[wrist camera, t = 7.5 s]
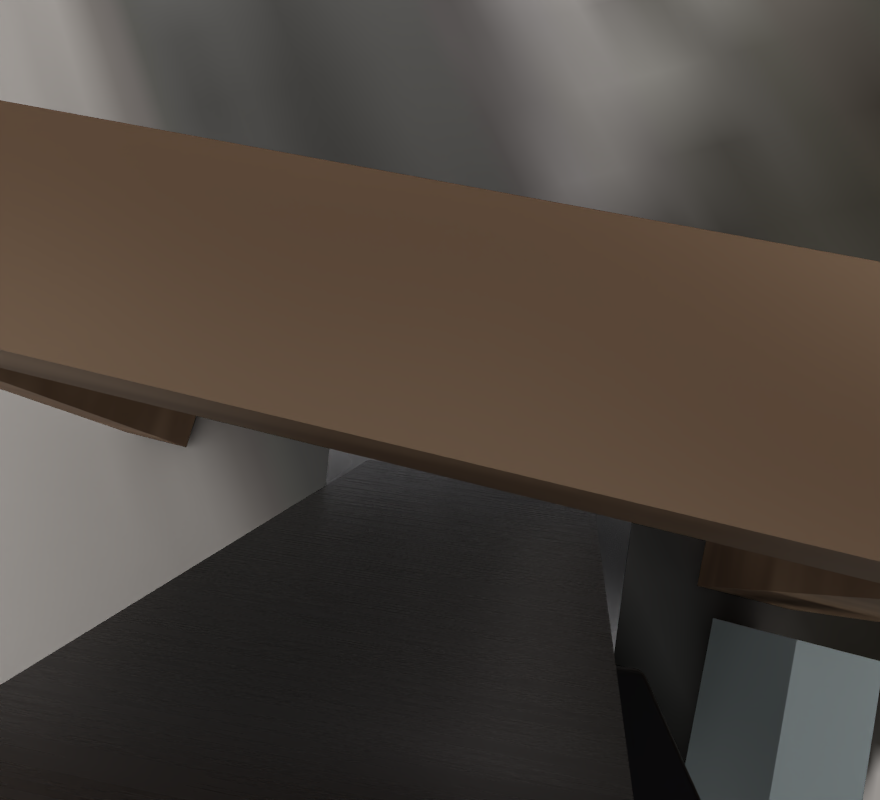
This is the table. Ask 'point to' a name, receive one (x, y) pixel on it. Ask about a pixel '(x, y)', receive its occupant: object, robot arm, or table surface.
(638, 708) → the robot arm
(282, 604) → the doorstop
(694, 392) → the door frame
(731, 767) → the door
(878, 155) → the table surface
